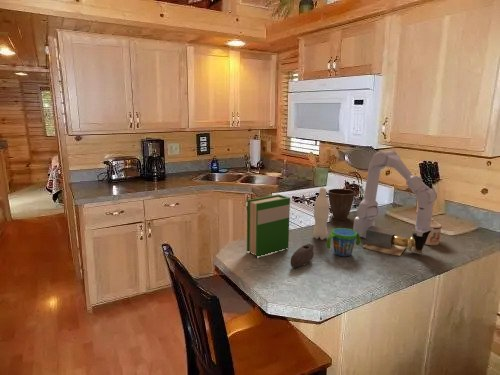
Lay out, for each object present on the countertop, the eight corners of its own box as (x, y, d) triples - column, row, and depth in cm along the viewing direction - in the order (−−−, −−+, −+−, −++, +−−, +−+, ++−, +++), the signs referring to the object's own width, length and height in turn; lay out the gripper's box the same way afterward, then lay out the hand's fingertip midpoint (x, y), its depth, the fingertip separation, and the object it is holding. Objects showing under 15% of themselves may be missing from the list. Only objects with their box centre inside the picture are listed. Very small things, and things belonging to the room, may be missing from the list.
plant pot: (321, 216, 204) (322, 190, 201) (341, 213, 211) (342, 187, 208) (338, 223, 191) (340, 195, 188) (358, 219, 198) (360, 192, 195)
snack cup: (353, 247, 157) (354, 226, 155) (365, 257, 147) (367, 234, 145) (321, 250, 154) (322, 228, 152) (331, 260, 144) (332, 237, 142)
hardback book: (257, 258, 145) (257, 203, 140) (246, 253, 151) (247, 199, 145) (288, 249, 155) (290, 197, 150) (277, 244, 161) (278, 194, 156)
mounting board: (362, 247, 158) (362, 246, 157) (371, 238, 169) (371, 237, 169) (400, 256, 149) (400, 254, 149) (406, 246, 160) (407, 245, 160)
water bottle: (311, 239, 167) (313, 189, 162) (314, 234, 174) (316, 186, 168) (326, 241, 165) (329, 190, 159) (328, 236, 171) (331, 187, 166)
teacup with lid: (432, 247, 159) (435, 223, 156) (414, 241, 166) (416, 217, 164) (446, 242, 165) (450, 219, 163) (428, 236, 173) (431, 214, 170)
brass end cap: (384, 247, 156) (386, 231, 154) (388, 243, 161) (389, 227, 159) (421, 255, 147) (423, 238, 146) (423, 250, 152) (425, 234, 151)
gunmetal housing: (365, 244, 160) (366, 229, 159) (369, 239, 166) (371, 225, 164) (390, 249, 154) (391, 234, 153) (393, 244, 160) (395, 230, 158)
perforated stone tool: (296, 272, 133) (296, 255, 132) (285, 268, 137) (285, 251, 135) (316, 260, 144) (317, 244, 143) (306, 256, 148) (306, 241, 146)
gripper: (431, 223, 139) (427, 254, 142) (437, 214, 150) (433, 244, 153) (412, 220, 143) (409, 250, 146) (419, 212, 154) (415, 240, 157)
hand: (420, 247), depth 150 cm, fingers open, 7 cm apart
